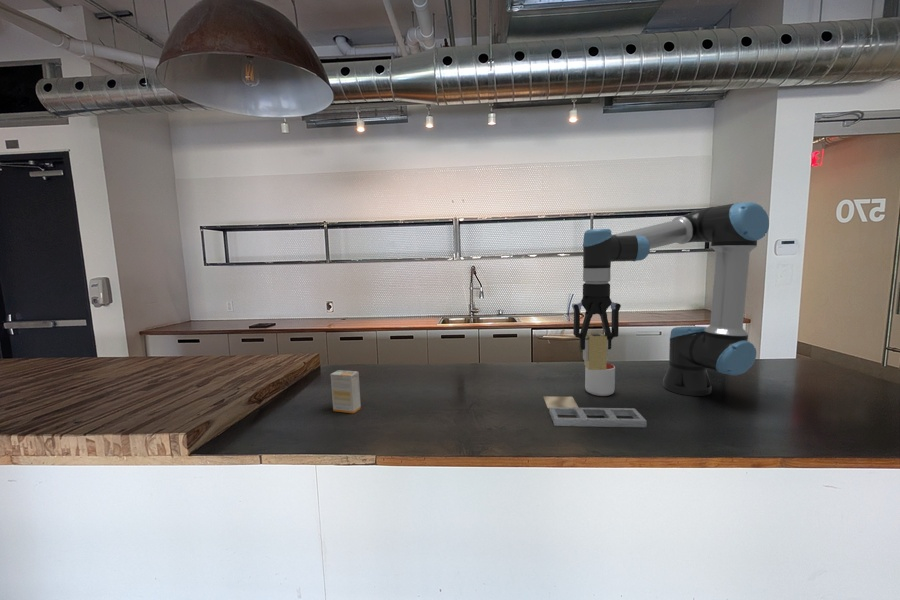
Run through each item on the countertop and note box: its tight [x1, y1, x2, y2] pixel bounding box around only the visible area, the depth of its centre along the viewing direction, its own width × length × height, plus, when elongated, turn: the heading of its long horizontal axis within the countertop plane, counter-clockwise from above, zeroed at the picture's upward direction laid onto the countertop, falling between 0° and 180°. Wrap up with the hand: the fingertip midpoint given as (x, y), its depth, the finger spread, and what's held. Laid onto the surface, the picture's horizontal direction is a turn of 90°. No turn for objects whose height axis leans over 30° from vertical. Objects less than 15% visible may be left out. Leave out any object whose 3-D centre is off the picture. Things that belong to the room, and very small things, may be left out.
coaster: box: [542, 396, 580, 410], centre depth 129 cm, size 10×10×1 cm
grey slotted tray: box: [549, 407, 648, 428], centre depth 115 cm, size 26×9×2 cm, turn 85°
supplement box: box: [330, 369, 362, 414], centre depth 127 cm, size 8×5×13 cm, turn 71°
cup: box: [584, 362, 616, 397], centre depth 138 cm, size 10×10×10 cm
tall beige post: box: [583, 332, 608, 370], centre depth 113 cm, size 5×5×10 cm
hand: (595, 359), depth 114 cm, fingers closed on tall beige post, 5 cm apart
